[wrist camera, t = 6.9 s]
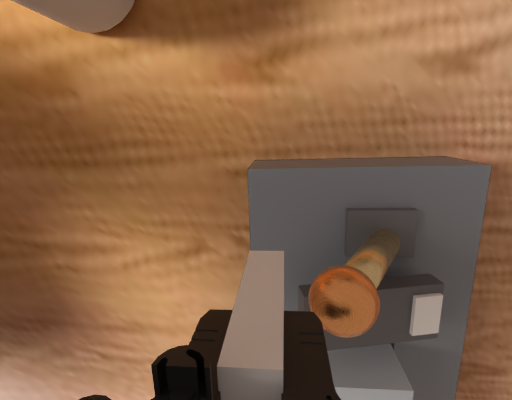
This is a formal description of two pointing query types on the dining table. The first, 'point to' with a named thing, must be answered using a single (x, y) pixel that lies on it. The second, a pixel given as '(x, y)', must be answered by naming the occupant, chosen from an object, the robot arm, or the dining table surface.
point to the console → (371, 219)
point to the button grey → (369, 374)
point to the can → (82, 12)
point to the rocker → (394, 312)
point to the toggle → (354, 287)
